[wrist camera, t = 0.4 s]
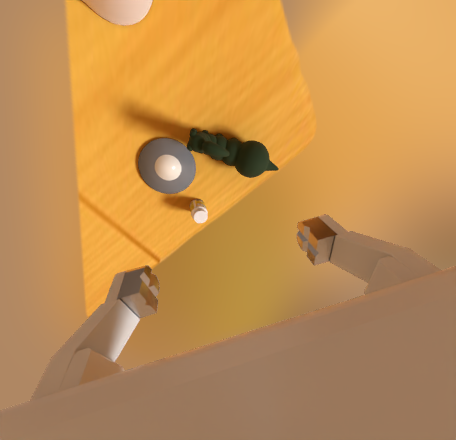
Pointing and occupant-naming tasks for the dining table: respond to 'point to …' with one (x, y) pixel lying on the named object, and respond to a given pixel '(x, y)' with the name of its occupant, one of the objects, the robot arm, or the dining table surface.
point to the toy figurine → (232, 152)
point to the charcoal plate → (167, 165)
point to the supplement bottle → (198, 210)
